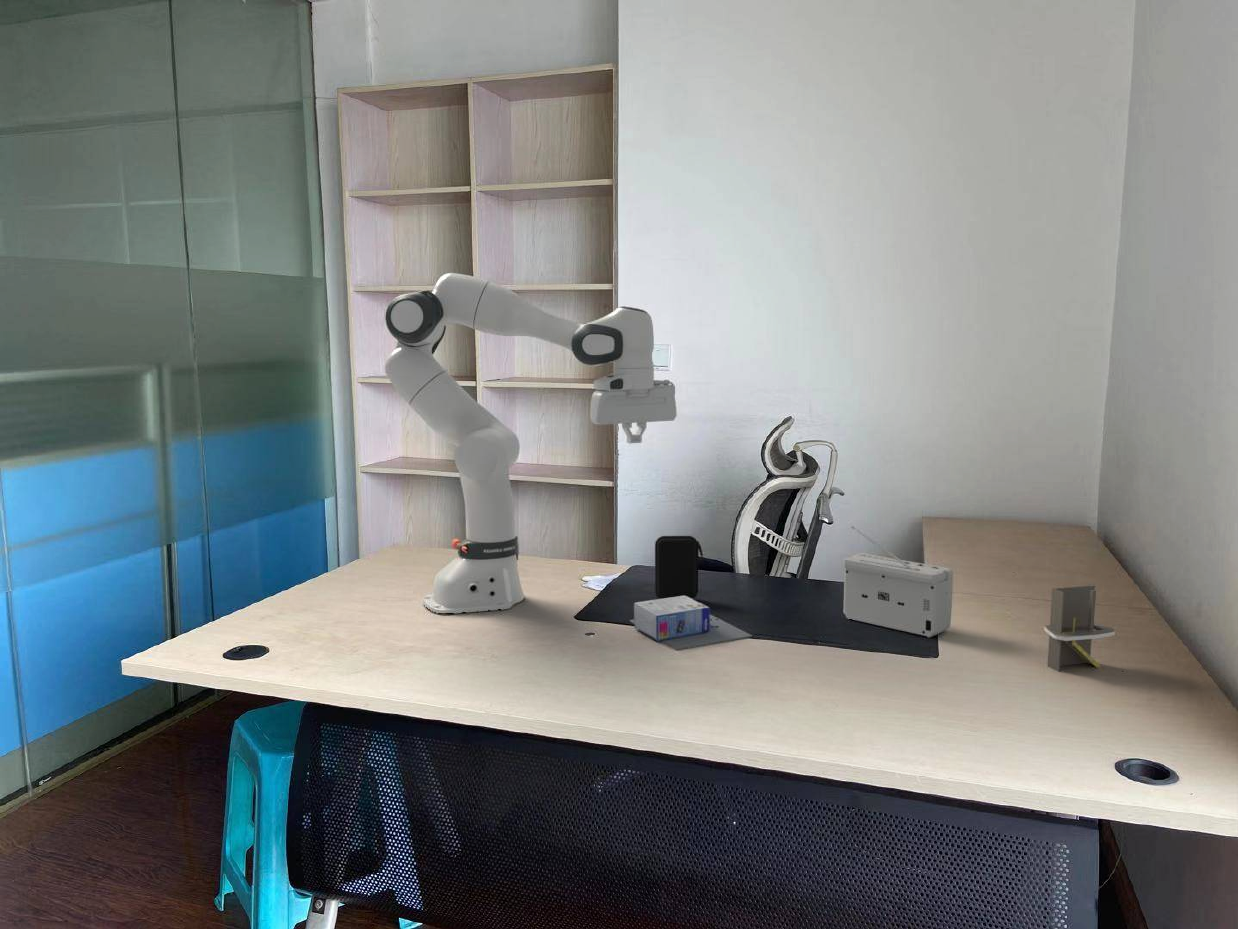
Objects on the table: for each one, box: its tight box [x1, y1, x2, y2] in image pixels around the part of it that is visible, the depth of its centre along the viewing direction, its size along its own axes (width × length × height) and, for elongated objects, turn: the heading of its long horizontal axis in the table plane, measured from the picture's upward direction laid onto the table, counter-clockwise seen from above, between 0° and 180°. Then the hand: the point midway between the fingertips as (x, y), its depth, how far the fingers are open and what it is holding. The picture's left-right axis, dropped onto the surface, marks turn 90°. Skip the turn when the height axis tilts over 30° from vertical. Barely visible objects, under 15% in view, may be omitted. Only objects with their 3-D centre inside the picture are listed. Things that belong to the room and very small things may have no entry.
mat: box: [628, 614, 753, 651], centre depth 189 cm, size 17×20×1 cm
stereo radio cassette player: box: [842, 525, 954, 639], centre depth 190 cm, size 21×8×20 cm, turn 47°
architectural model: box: [1043, 584, 1116, 672], centre depth 166 cm, size 20×25×15 cm
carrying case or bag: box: [654, 535, 704, 600], centre depth 209 cm, size 11×3×15 cm, turn 90°
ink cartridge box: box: [633, 596, 712, 641], centre depth 188 cm, size 10×6×14 cm
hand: (634, 442), depth 209 cm, fingers closed
